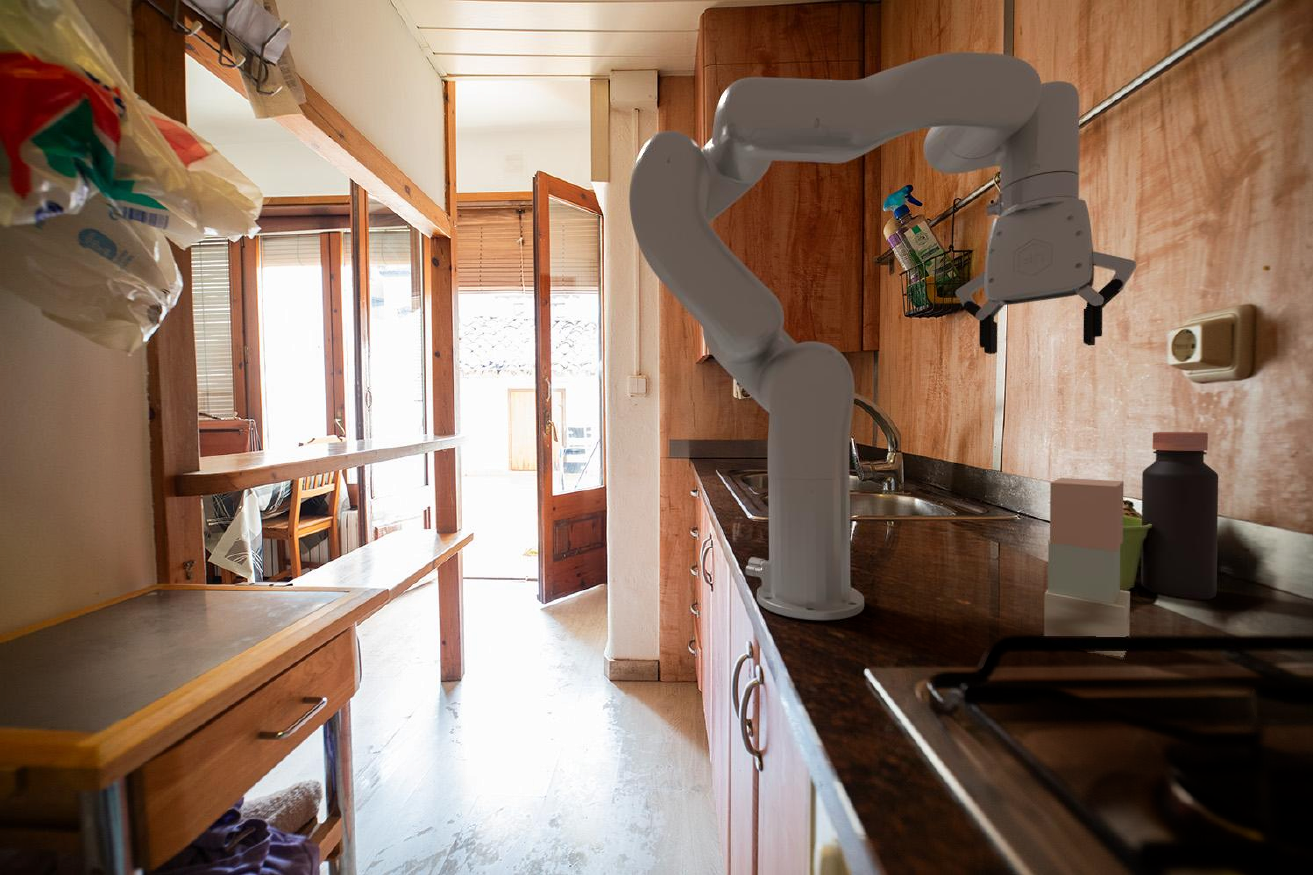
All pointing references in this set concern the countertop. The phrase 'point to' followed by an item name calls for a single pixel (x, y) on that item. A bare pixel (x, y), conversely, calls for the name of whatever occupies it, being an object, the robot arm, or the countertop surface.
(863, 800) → the countertop surface
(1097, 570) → the tower top
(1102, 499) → the block
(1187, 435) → the bottle
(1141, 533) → the plant pot
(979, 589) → the countertop surface
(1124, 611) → the tower base
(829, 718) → the countertop surface
